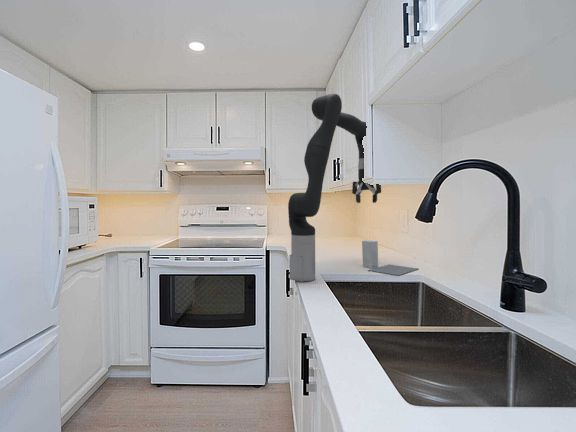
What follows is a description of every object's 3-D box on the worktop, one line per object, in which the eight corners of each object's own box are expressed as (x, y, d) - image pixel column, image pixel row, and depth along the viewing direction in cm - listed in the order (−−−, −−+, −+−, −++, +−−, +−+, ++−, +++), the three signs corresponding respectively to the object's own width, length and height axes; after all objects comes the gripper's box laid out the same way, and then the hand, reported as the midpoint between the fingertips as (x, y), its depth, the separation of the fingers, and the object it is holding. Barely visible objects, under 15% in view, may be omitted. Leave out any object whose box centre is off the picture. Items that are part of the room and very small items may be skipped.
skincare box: (378, 267, 152) (378, 241, 152) (371, 269, 150) (371, 241, 149) (369, 265, 157) (369, 239, 157) (361, 266, 155) (361, 240, 155)
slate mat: (398, 275, 135) (398, 274, 135) (368, 271, 145) (368, 270, 145) (418, 269, 148) (418, 268, 148) (389, 265, 158) (389, 264, 158)
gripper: (349, 169, 164) (349, 203, 164) (375, 166, 154) (375, 202, 154) (357, 170, 169) (357, 203, 169) (383, 167, 159) (383, 202, 160)
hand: (366, 202), depth 162 cm, fingers open, 8 cm apart
